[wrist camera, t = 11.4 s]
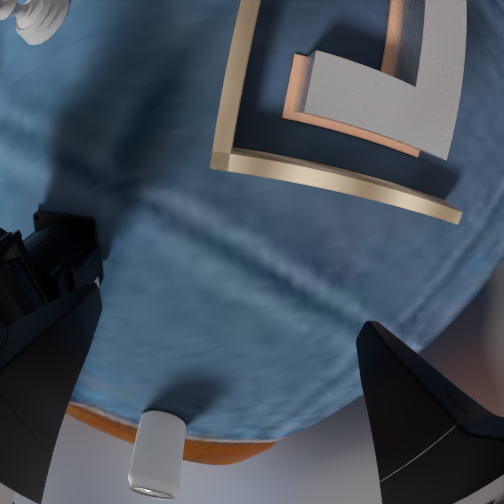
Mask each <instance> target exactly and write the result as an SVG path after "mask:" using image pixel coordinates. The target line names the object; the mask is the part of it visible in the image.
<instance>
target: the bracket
mask: <svg viewBox="0 0 504 504" xmlns="http://www.w3.org/2000/svg"><path fill="white" fill-rule="evenodd" d="M466 26H467V7H466V0H398V2H397V13H396V22H395V30H394V38H393V45H392V52H391V59H390V65H389V71H388V75H387V74H385V73H383V72H380V71H378V70H375V69H372V68H370V67H367V66H364V65H362V64H359V63H356V62H353V61H350V60H347V59H344V58H341V57H338V56H335V55H331V54H328V53H324V52H321V51H317V50H316V51H315V52H313V53H312V54H311V55H310V56H308V57H307V58H306V59H305V60H303V61H302V62H301V67H300V72H299V77H298V82H297V87H296V92H295V97H294V102H293V107H292V112H296V113H300V114H305V115H309V116H313V117H317V118H321V119H325V120H329V121H332V122H336V123H340V124H343V125H346V126H350V127H353V128H356V129H360V130H363V131H366V132H369V133H372V134H375V135H378V136H381V137H384V138H387V139H390V140H392V141H395V142H398V143H401V144H403V145H406V146H408V147H411V148H413V149H416V150H419V151H422V152H425V153H428V154H430V155H433V156H436V157H438V158H441V159H444V160H447V157H448V153H449V149H450V145H451V140H452V136H453V132H454V127H455V122H456V117H457V112H458V106H459V100H460V94H461V87H462V80H463V71H464V61H465V49H466Z"/></svg>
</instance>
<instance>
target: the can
mask: <svg viewBox="0 0 504 504" xmlns="http://www.w3.org/2000/svg"><path fill="white" fill-rule="evenodd" d="M185 431H186V425H185V423H184V422H183V420H182V419H181V418H179V417H178V416H176V415H174V414H172V413H169V412H165V411H160V410H150V411H147V412H145V413H143V414H142V416H141V419H140V423H139V427H138V431H137V436H136V440H135V445H134V450H133V454H132V459H131V464H130V469H129V475H128V479H129V482H130V488H129V489H130V490H132V491H133V492H136V493H138V494H141V495H144V496H148V497H152V498H157V499H163V500H173V499H175V498H174V495H175V494H176V493H177V491H178V489H179V484H180V475H181V465H182V457H183V448H184V440H185Z"/></svg>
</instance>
